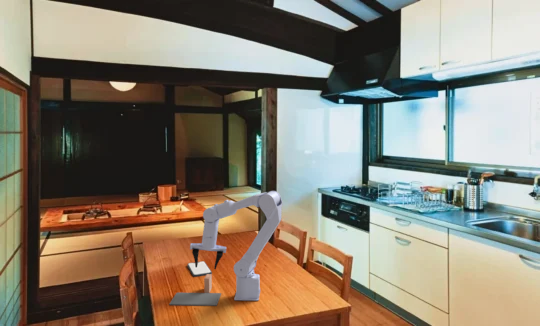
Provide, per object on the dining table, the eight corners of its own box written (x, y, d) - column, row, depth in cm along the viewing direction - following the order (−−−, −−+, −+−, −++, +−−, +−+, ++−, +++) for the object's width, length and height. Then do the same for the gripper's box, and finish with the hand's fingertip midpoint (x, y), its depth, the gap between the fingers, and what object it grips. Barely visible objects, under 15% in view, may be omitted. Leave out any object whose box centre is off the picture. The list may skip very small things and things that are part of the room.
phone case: (212, 275, 167) (204, 263, 182) (212, 272, 167) (204, 260, 182) (193, 278, 164) (186, 266, 178) (193, 275, 163) (186, 263, 178)
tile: (211, 288, 152) (211, 274, 151) (209, 293, 147) (209, 278, 146) (207, 288, 152) (206, 274, 151) (204, 293, 147) (204, 278, 147)
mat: (221, 294, 146) (221, 293, 146) (216, 305, 136) (216, 304, 136) (176, 293, 146) (176, 292, 146) (169, 305, 136) (169, 303, 136)
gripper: (227, 234, 152) (223, 264, 153) (193, 230, 150) (189, 261, 152) (227, 240, 145) (223, 272, 146) (191, 236, 143) (187, 268, 145)
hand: (205, 267), depth 148 cm, fingers open, 7 cm apart
